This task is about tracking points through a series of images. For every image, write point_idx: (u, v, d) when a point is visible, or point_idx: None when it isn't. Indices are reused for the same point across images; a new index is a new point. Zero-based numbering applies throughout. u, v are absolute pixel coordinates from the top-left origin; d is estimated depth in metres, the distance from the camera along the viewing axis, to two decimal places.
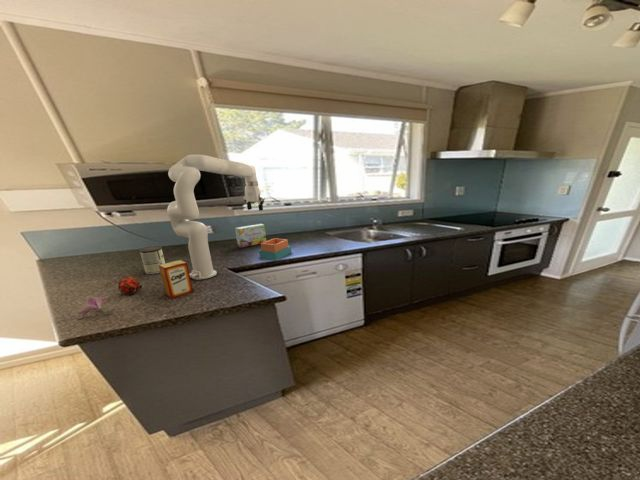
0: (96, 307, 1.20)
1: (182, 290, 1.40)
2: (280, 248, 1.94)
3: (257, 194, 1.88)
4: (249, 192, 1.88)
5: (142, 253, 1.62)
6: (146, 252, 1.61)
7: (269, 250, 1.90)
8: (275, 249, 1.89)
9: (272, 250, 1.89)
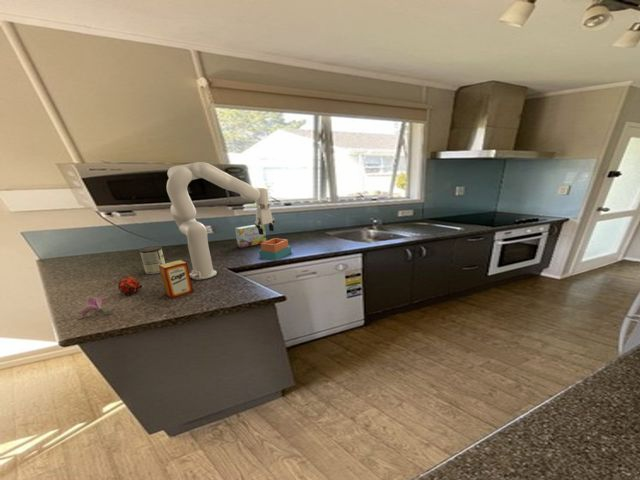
0: (96, 307, 1.20)
1: (182, 290, 1.40)
2: (280, 248, 1.94)
3: (256, 217, 1.80)
4: None
5: (142, 253, 1.62)
6: (146, 252, 1.61)
7: (269, 250, 1.90)
8: (275, 249, 1.89)
9: (272, 250, 1.89)
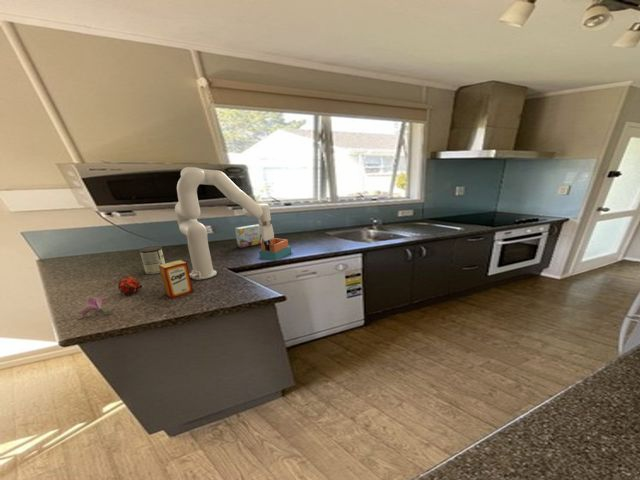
0: (96, 307, 1.20)
1: (182, 290, 1.40)
2: (280, 248, 1.94)
3: (258, 234, 1.83)
4: None
5: (142, 253, 1.62)
6: (146, 252, 1.61)
7: None
8: (275, 249, 1.89)
9: (272, 250, 1.89)
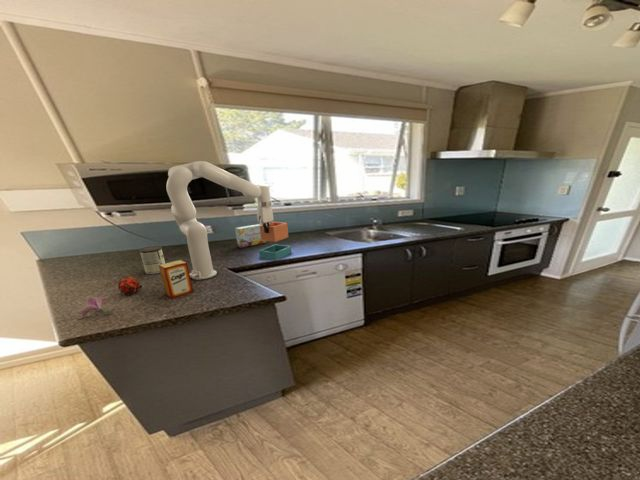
0: (96, 307, 1.20)
1: (182, 290, 1.40)
2: (280, 231, 1.90)
3: (258, 215, 1.79)
4: None
5: (142, 253, 1.62)
6: (146, 252, 1.61)
7: (268, 233, 1.86)
8: (274, 231, 1.85)
9: (271, 232, 1.85)
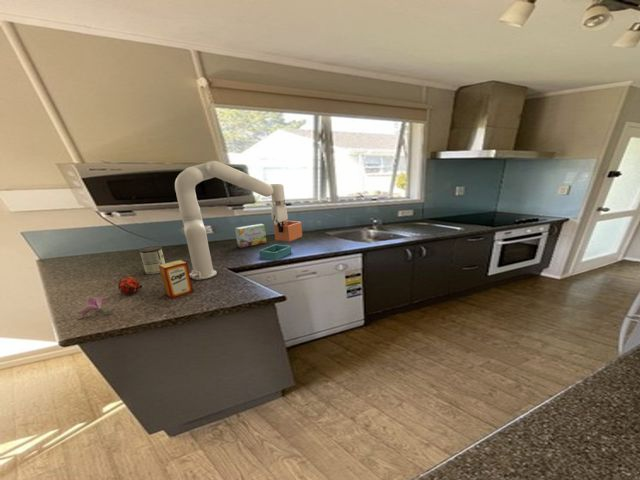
0: (96, 307, 1.20)
1: (182, 290, 1.40)
2: (294, 231, 1.86)
3: (272, 214, 1.75)
4: None
5: (142, 253, 1.62)
6: (146, 252, 1.61)
7: (283, 232, 1.82)
8: (289, 231, 1.81)
9: (286, 232, 1.81)
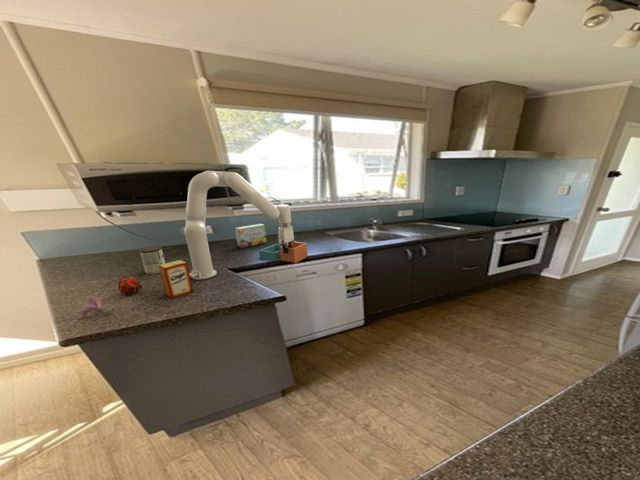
0: (96, 307, 1.20)
1: (182, 290, 1.40)
2: (299, 252, 1.89)
3: (279, 236, 1.78)
4: None
5: (142, 253, 1.62)
6: (146, 252, 1.61)
7: (288, 254, 1.85)
8: (295, 253, 1.84)
9: (292, 254, 1.84)
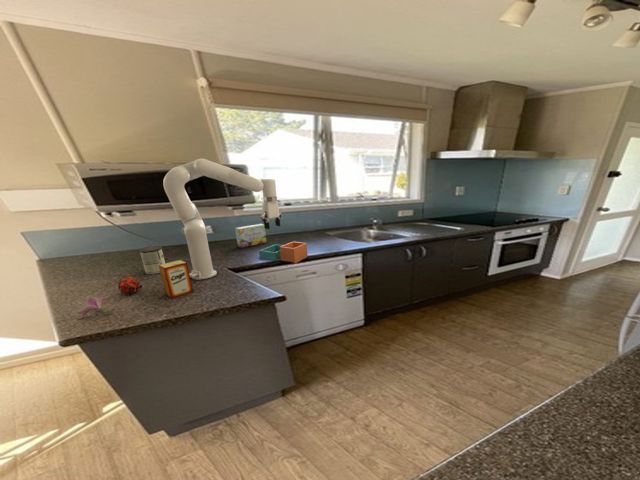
0: (96, 307, 1.20)
1: (182, 290, 1.40)
2: (299, 252, 1.89)
3: (263, 210, 1.69)
4: None
5: (142, 253, 1.62)
6: (146, 252, 1.61)
7: (288, 254, 1.85)
8: (295, 253, 1.84)
9: (292, 254, 1.84)
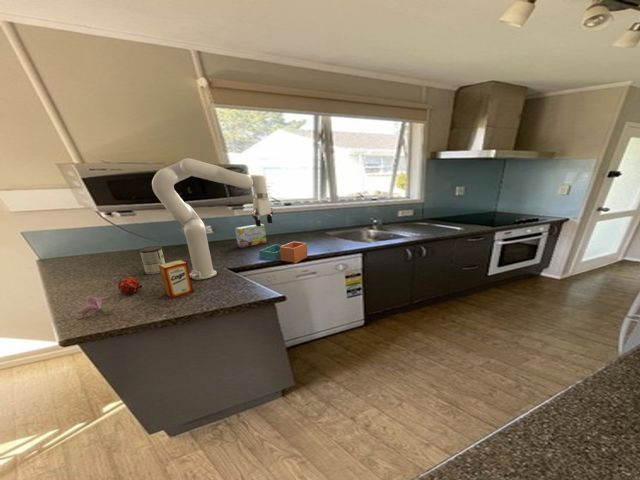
0: (96, 307, 1.20)
1: (182, 290, 1.40)
2: (299, 252, 1.89)
3: (254, 207, 1.66)
4: None
5: (142, 253, 1.62)
6: (146, 252, 1.61)
7: (288, 254, 1.85)
8: (295, 253, 1.84)
9: (292, 254, 1.84)
